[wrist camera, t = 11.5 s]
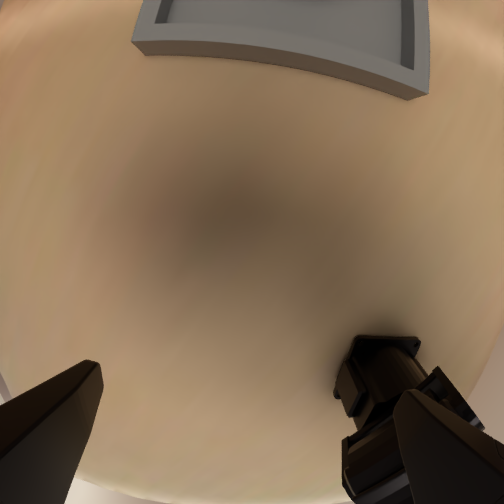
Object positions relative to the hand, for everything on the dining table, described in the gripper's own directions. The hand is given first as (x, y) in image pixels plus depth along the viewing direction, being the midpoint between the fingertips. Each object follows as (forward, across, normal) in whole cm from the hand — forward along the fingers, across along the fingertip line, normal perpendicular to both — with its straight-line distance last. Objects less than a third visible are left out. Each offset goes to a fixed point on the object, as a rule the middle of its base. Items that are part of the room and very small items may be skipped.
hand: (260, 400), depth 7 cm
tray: (+13, 0, -21) cm, 25 cm away
